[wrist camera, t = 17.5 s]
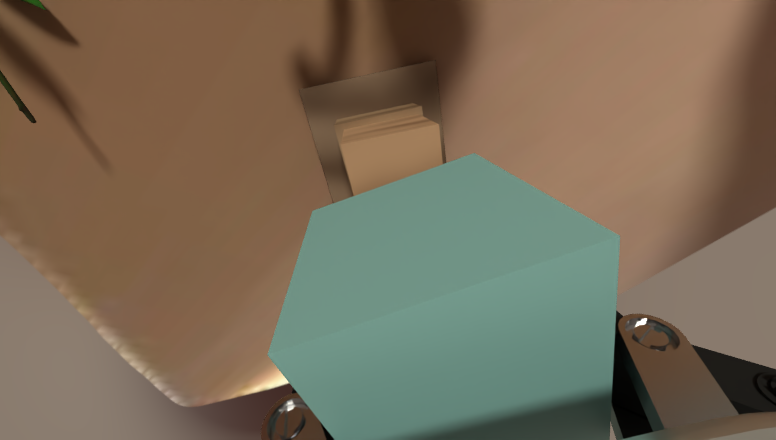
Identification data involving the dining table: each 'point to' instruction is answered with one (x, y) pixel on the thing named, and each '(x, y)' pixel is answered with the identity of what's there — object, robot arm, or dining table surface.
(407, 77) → the pedestal board
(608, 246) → the teal brick
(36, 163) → the dining table surface
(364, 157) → the tan block
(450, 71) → the dining table surface
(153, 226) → the dining table surface
